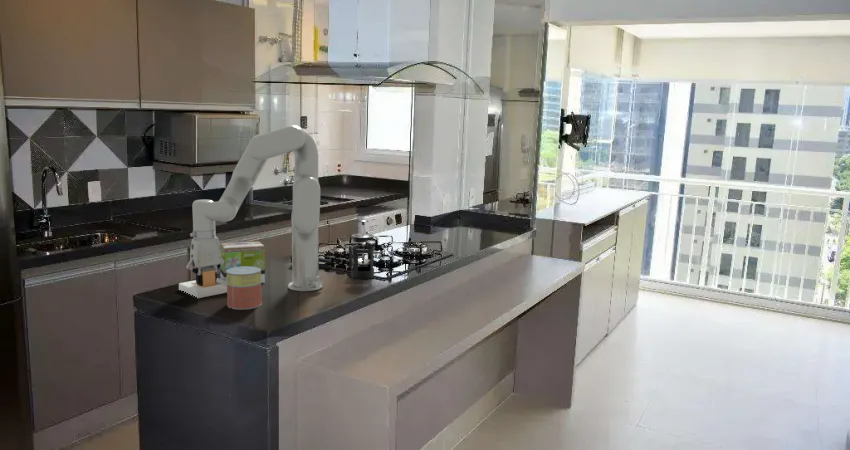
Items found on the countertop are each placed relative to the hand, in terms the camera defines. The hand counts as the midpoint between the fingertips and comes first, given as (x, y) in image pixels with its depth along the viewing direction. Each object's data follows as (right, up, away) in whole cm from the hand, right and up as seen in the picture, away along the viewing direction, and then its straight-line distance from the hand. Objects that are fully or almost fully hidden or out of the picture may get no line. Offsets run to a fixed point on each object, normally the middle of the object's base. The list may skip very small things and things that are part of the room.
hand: (206, 283), depth 234 cm
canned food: (+18, -6, -15) cm, 24 cm away
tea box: (+9, -1, +13) cm, 16 cm away
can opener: (+31, +3, +39) cm, 50 cm away
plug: (0, -1, 0) cm, 1 cm away
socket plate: (0, -3, 0) cm, 3 cm away
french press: (+54, 0, +25) cm, 59 cm away
